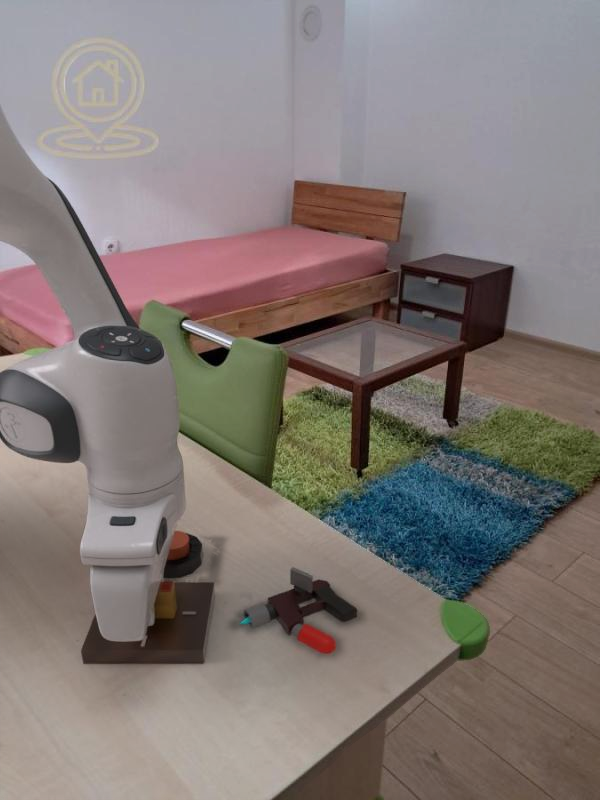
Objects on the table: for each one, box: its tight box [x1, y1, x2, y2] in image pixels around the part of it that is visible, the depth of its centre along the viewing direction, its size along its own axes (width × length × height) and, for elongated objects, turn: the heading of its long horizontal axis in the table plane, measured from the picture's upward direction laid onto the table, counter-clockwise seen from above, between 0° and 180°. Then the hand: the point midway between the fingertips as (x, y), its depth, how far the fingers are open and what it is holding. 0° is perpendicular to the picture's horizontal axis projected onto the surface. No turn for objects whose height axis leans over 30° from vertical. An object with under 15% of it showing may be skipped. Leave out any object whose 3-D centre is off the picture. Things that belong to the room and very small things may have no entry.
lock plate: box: [80, 581, 216, 665], centre depth 67 cm, size 12×10×3 cm
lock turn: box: [155, 580, 177, 619], centre depth 66 cm, size 5×2×4 cm, turn 91°
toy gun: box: [238, 566, 358, 655], centre depth 67 cm, size 10×12×5 cm
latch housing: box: [163, 532, 204, 579], centre depth 77 cm, size 10×8×3 cm
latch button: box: [167, 530, 190, 560], centre depth 77 cm, size 4×4×2 cm
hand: (151, 607), depth 66 cm, fingers open, 3 cm apart
